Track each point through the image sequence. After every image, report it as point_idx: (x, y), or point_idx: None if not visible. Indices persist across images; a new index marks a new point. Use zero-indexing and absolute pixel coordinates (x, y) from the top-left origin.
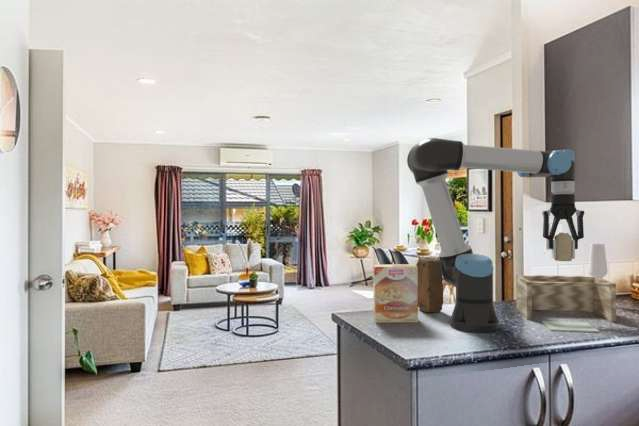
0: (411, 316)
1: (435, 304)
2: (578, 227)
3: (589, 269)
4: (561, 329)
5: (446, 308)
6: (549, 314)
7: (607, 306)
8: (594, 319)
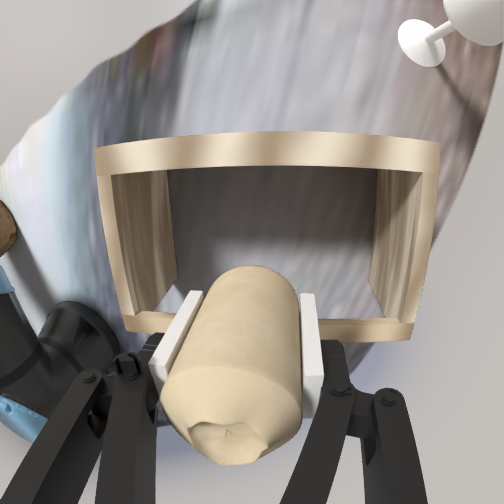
0: None
1: (2, 253)
2: (373, 491)
3: (451, 5)
4: None
5: (19, 187)
6: (234, 207)
7: (380, 275)
8: (341, 253)
